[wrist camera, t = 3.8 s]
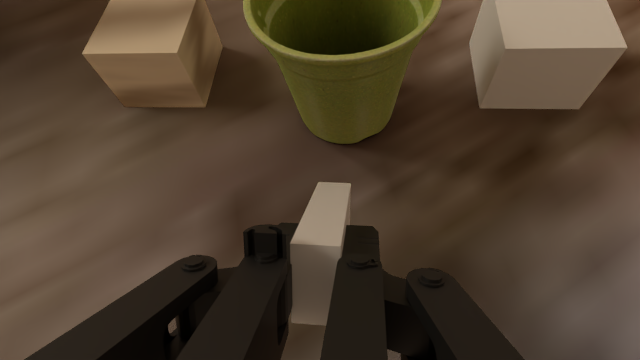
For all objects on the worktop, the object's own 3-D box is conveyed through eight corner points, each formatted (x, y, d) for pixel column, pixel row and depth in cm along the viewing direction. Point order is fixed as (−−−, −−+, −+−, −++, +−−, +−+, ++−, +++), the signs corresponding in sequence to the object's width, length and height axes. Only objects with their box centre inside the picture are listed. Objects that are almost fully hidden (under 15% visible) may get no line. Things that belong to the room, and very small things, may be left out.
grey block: (578, 110, 24) (627, 47, 20) (478, 109, 25) (505, 48, 20) (556, 43, 27) (595, -25, 22) (468, 44, 27) (489, -22, 23)
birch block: (206, 108, 26) (177, 52, 22) (125, 107, 27) (81, 53, 23) (223, 48, 29) (200, -12, 25) (150, 48, 30) (115, -10, 26)
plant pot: (254, 150, 24) (208, 41, 17) (302, 48, 28) (282, -76, 21) (400, 183, 22) (422, 77, 15) (428, 69, 26) (457, -61, 19)
